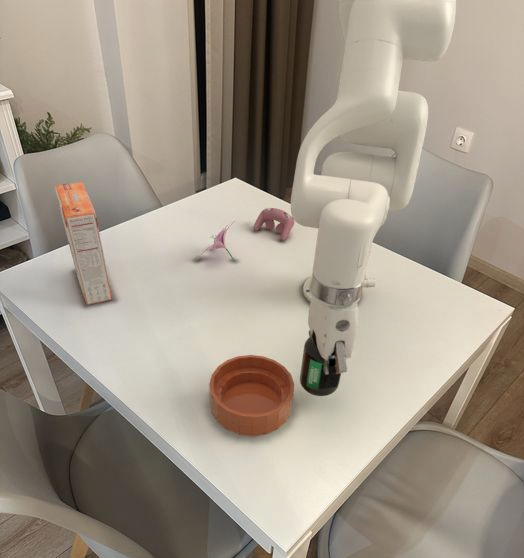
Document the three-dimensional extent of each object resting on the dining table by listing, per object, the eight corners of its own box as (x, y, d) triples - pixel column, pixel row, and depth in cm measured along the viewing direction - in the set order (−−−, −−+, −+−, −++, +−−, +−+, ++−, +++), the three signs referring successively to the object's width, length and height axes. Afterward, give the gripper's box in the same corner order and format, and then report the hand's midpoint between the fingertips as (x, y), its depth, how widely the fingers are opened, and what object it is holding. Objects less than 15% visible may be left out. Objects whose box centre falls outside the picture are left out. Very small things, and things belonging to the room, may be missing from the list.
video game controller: (290, 241, 135) (298, 215, 132) (283, 241, 130) (291, 214, 128) (259, 230, 138) (266, 204, 136) (250, 229, 134) (258, 202, 132)
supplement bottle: (313, 402, 86) (322, 350, 78) (292, 376, 91) (298, 324, 83) (346, 389, 89) (358, 337, 81) (324, 364, 93) (333, 312, 85)
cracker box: (73, 271, 117) (53, 184, 103) (100, 266, 119) (83, 180, 105) (84, 306, 108) (63, 216, 94) (113, 300, 110) (97, 211, 96)
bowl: (281, 372, 97) (283, 351, 93) (300, 432, 87) (303, 410, 83) (205, 381, 94) (204, 359, 90) (216, 443, 84) (215, 421, 80)
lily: (234, 244, 131) (216, 212, 126) (260, 248, 122) (242, 213, 117) (200, 273, 127) (179, 241, 122) (224, 279, 118) (203, 245, 113)
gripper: (382, 319, 70) (359, 406, 82) (342, 252, 83) (327, 335, 95) (329, 324, 69) (314, 411, 81) (297, 255, 81) (287, 339, 93)
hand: (321, 370), depth 88 cm, fingers closed on supplement bottle, 6 cm apart
